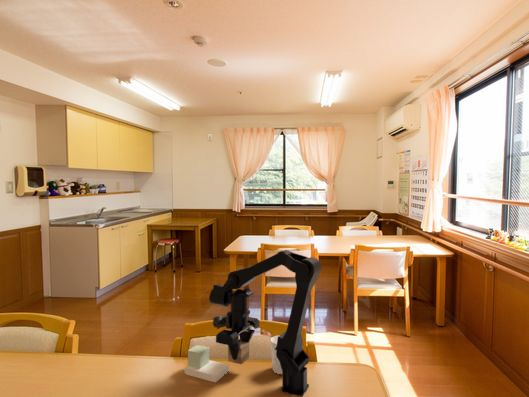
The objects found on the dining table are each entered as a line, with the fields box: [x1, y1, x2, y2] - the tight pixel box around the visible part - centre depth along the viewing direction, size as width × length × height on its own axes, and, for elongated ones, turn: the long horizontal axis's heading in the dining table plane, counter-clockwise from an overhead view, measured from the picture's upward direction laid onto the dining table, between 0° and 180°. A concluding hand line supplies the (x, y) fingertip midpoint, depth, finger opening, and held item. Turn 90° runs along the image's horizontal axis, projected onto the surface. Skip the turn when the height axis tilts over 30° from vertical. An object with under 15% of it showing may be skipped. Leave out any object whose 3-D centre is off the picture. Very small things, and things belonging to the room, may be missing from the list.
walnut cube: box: [227, 341, 250, 365], centre depth 108 cm, size 5×5×5 cm
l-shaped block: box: [184, 344, 230, 384], centre depth 107 cm, size 12×8×7 cm, turn 64°
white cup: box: [270, 334, 282, 376], centre depth 109 cm, size 8×8×10 cm
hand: (238, 356), depth 107 cm, fingers closed on walnut cube, 5 cm apart
